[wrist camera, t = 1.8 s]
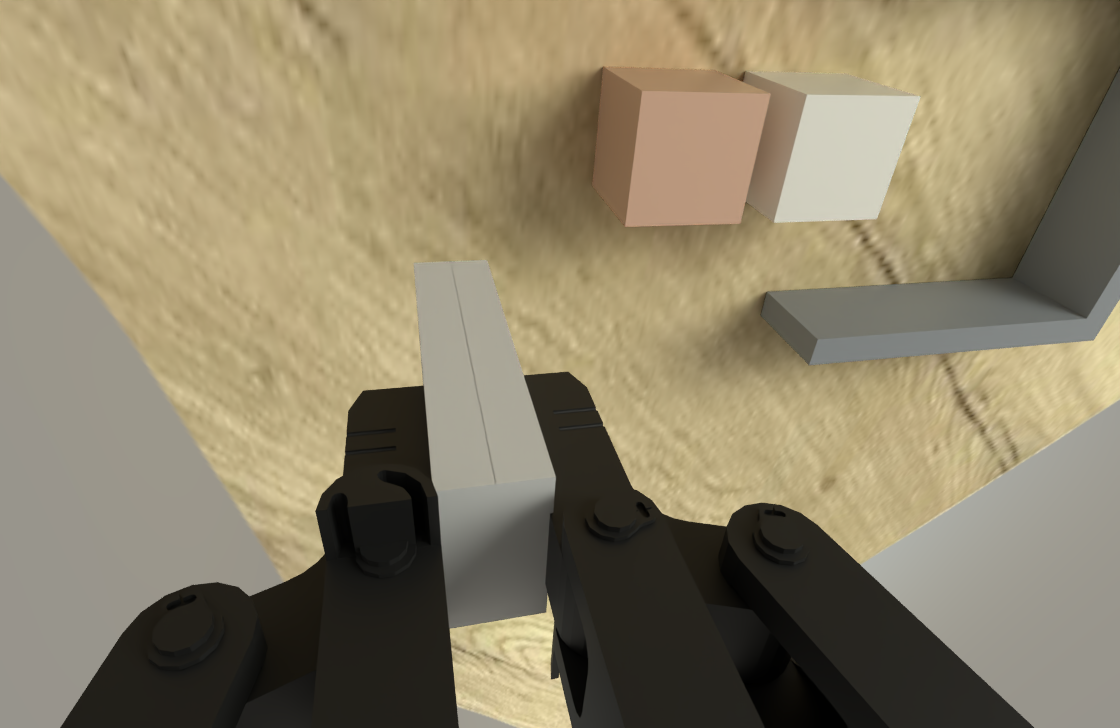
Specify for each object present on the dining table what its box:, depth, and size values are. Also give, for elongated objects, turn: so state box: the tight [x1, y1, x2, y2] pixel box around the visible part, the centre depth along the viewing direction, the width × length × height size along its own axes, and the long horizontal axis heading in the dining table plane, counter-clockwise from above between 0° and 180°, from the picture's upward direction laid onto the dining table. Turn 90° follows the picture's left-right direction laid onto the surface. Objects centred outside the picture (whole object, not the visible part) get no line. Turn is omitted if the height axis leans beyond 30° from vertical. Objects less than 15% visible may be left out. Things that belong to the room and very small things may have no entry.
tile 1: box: [592, 67, 771, 227], centre depth 26 cm, size 5×5×5 cm
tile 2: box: [743, 71, 921, 223], centre depth 27 cm, size 5×5×5 cm
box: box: [761, 69, 1120, 365], centre depth 29 cm, size 20×18×5 cm
